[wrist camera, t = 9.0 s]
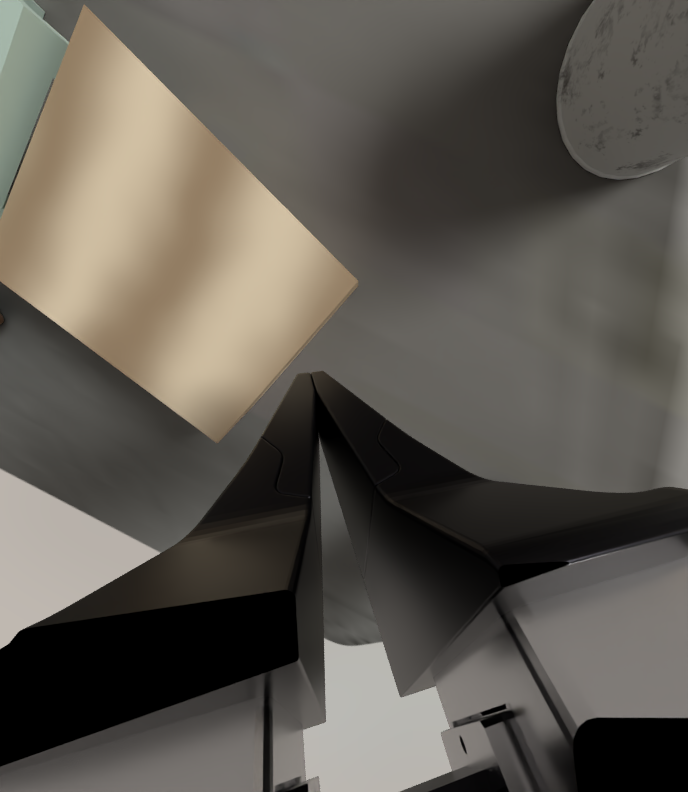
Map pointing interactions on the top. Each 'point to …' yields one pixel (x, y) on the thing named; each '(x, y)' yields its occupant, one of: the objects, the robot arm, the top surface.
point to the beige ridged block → (160, 241)
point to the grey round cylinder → (626, 88)
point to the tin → (1, 319)
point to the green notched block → (23, 79)
